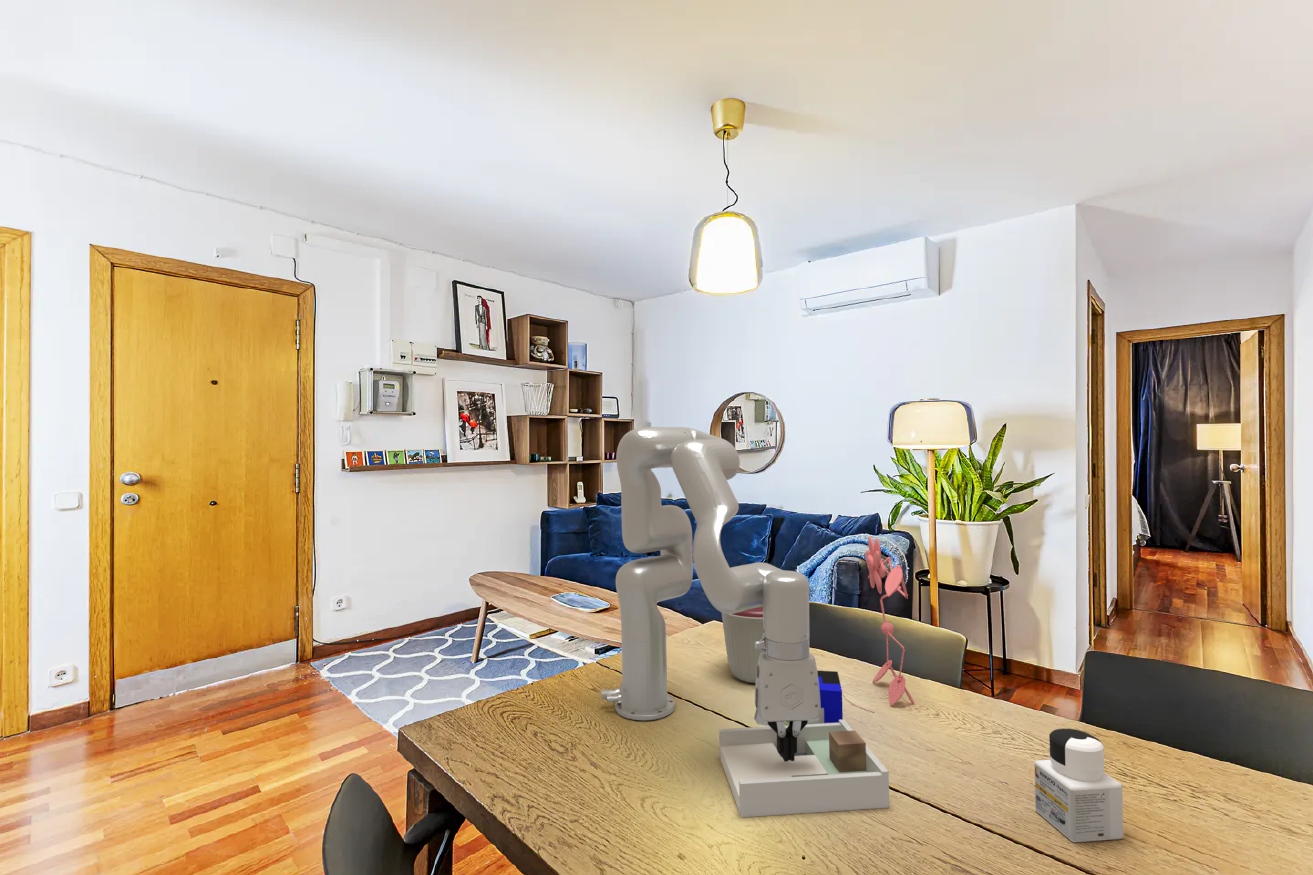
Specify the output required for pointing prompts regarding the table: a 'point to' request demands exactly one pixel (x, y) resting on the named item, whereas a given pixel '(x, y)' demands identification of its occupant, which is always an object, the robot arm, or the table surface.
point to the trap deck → (797, 774)
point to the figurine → (887, 628)
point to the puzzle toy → (830, 697)
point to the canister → (743, 642)
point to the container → (1078, 789)
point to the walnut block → (847, 751)
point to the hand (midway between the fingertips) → (786, 756)
